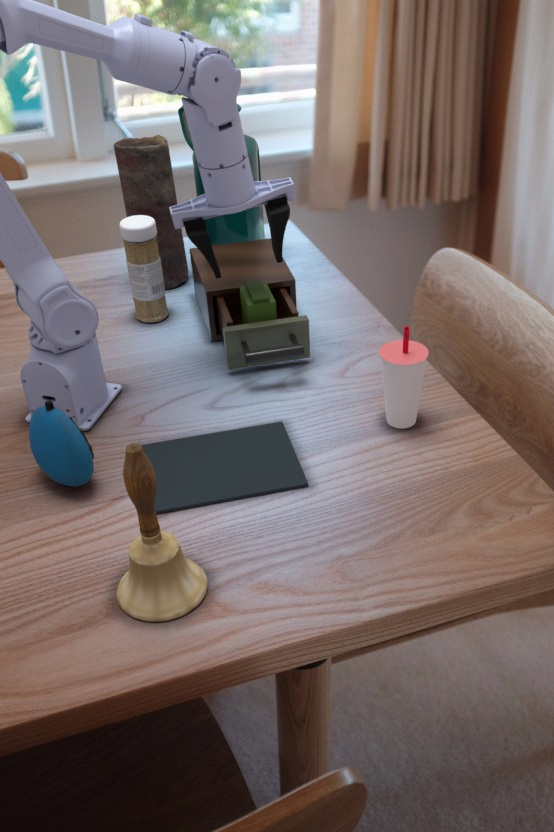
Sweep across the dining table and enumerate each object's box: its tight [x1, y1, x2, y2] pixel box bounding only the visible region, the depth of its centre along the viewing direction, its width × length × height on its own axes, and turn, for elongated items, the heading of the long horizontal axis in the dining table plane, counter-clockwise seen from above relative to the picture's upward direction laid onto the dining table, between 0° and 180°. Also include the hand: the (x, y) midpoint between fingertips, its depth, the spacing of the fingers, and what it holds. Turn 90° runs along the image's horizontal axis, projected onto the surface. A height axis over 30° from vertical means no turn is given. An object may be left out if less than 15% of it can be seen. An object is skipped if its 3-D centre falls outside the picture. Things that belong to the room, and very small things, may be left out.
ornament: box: [28, 400, 95, 487], centre depth 93 cm, size 8×5×10 cm, turn 53°
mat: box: [140, 421, 309, 515], centre depth 97 cm, size 12×16×1 cm
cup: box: [378, 325, 430, 430], centre depth 100 cm, size 5×5×12 cm
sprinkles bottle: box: [119, 215, 169, 324], centre depth 120 cm, size 5×5×13 cm
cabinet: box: [189, 237, 298, 342], centre depth 122 cm, size 14×12×7 cm
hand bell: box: [116, 442, 209, 623], centre depth 78 cm, size 8×8×16 cm
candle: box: [113, 134, 189, 290], centre depth 126 cm, size 8×7×20 cm
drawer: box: [213, 287, 311, 371], centre depth 113 cm, size 17×10×5 cm, turn 16°
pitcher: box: [177, 103, 266, 246], centre depth 132 cm, size 10×8×22 cm
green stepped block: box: [240, 280, 277, 324], centre depth 113 cm, size 5×4×6 cm
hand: (248, 266), depth 111 cm, fingers open, 7 cm apart
